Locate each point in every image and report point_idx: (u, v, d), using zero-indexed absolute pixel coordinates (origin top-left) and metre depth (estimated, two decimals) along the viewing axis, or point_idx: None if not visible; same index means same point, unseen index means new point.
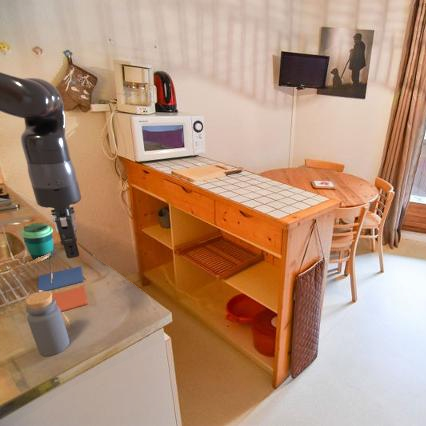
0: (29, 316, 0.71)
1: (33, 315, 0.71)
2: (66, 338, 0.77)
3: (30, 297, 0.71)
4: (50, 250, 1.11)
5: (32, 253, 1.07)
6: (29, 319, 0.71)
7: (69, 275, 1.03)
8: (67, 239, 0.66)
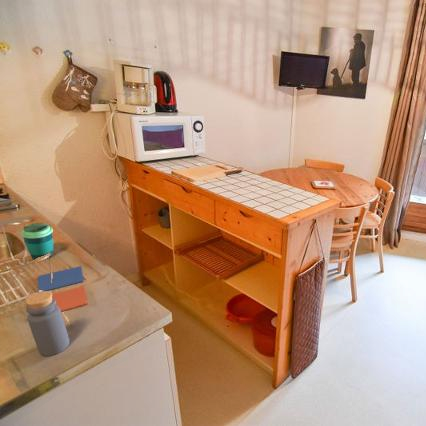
0: (29, 316, 0.71)
1: (33, 315, 0.71)
2: (66, 338, 0.77)
3: (30, 297, 0.71)
4: (50, 250, 1.11)
5: (32, 253, 1.07)
6: (29, 319, 0.71)
7: (69, 275, 1.03)
8: None
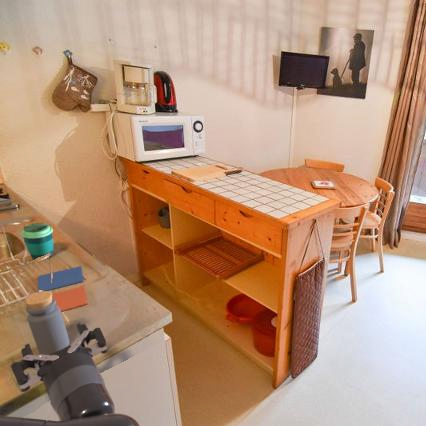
0: (29, 316, 0.71)
1: (33, 315, 0.71)
2: (66, 338, 0.77)
3: (30, 297, 0.71)
4: (50, 250, 1.11)
5: (32, 253, 1.07)
6: (29, 319, 0.71)
7: (69, 275, 1.03)
8: None
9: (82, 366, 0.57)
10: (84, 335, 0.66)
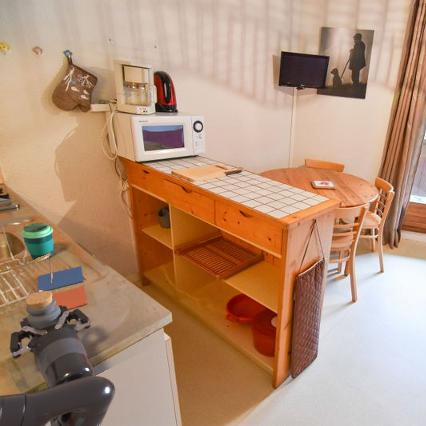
0: (29, 316, 0.71)
1: (33, 315, 0.71)
2: None
3: (30, 297, 0.71)
4: (50, 250, 1.11)
5: (32, 253, 1.07)
6: (29, 319, 0.71)
7: (69, 275, 1.03)
8: None
9: (67, 338, 0.65)
10: (65, 315, 0.74)
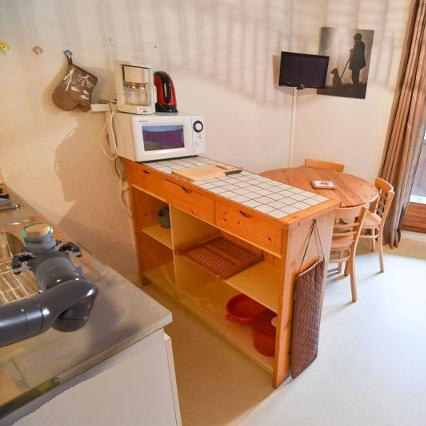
0: (28, 244, 0.82)
1: (32, 243, 0.81)
2: None
3: (29, 227, 0.82)
4: None
5: None
6: (28, 246, 0.81)
7: None
8: None
9: (60, 257, 0.76)
10: (60, 245, 0.85)
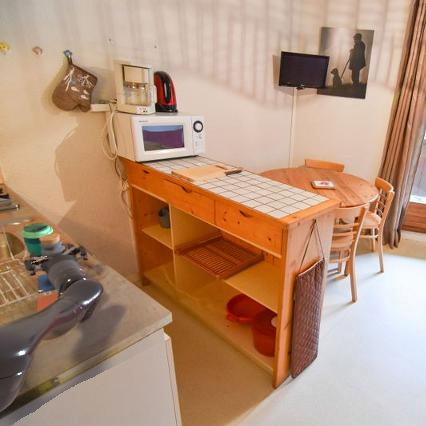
0: (42, 251, 0.95)
1: (45, 250, 0.95)
2: None
3: (43, 236, 0.95)
4: None
5: None
6: (42, 252, 0.95)
7: None
8: None
9: (69, 260, 0.89)
10: (72, 249, 0.98)
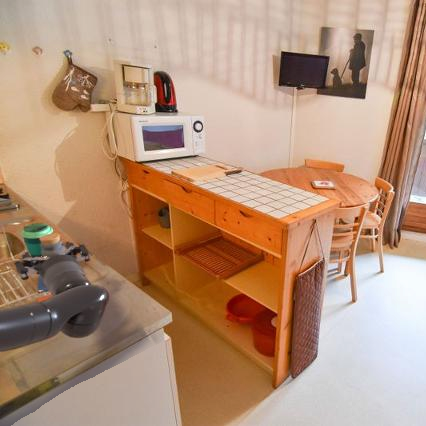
0: (42, 250, 0.95)
1: (45, 249, 0.95)
2: None
3: (43, 236, 0.95)
4: None
5: (32, 253, 1.07)
6: (42, 252, 0.95)
7: None
8: None
9: (68, 261, 0.75)
10: (71, 248, 0.84)
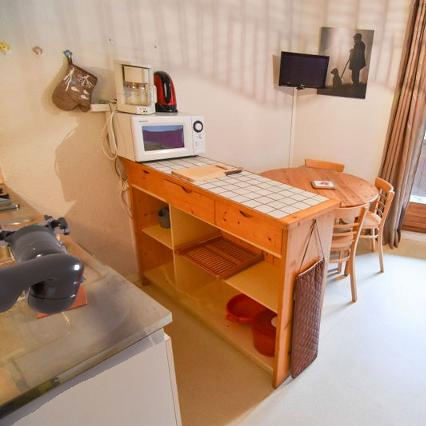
0: None
1: None
2: None
3: None
4: None
5: None
6: None
7: None
8: None
9: (42, 231, 0.66)
10: (49, 221, 0.75)
